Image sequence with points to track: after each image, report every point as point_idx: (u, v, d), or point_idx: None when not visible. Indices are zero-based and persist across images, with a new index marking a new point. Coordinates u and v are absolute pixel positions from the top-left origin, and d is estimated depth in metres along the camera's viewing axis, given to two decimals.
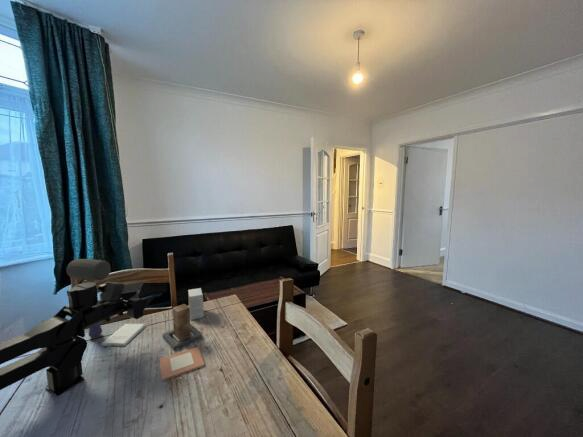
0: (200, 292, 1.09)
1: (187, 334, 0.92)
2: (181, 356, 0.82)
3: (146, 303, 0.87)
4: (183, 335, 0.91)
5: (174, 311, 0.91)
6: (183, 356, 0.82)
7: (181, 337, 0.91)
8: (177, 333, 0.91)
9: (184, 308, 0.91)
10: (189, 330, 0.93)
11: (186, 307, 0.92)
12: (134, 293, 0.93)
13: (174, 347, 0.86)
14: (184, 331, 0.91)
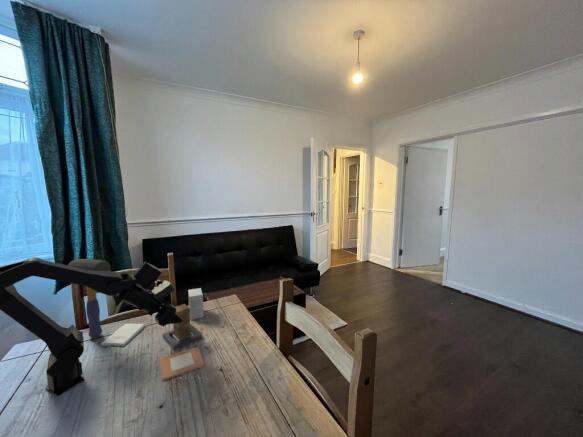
0: (200, 292, 1.09)
1: (187, 334, 0.92)
2: (181, 356, 0.82)
3: (173, 320, 0.84)
4: (183, 335, 0.91)
5: None
6: (183, 356, 0.82)
7: (181, 337, 0.91)
8: (177, 333, 0.91)
9: (184, 308, 0.91)
10: (189, 330, 0.93)
11: (186, 307, 0.92)
12: None
13: (174, 347, 0.86)
14: (184, 331, 0.91)
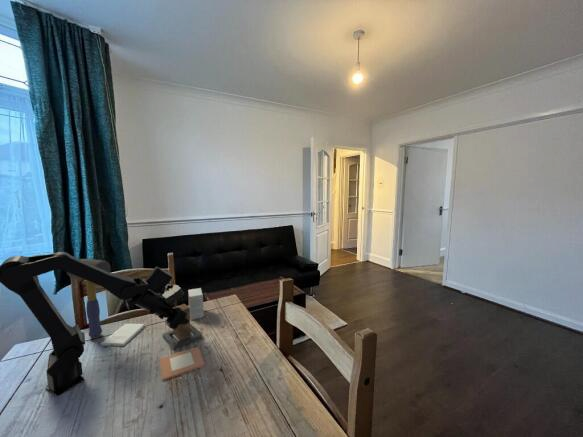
0: (200, 292, 1.09)
1: (187, 334, 0.92)
2: (181, 356, 0.82)
3: (181, 321, 0.89)
4: (183, 335, 0.91)
5: None
6: (183, 356, 0.82)
7: (181, 337, 0.91)
8: (177, 333, 0.91)
9: (184, 308, 0.91)
10: (189, 330, 0.93)
11: (186, 307, 0.92)
12: None
13: (174, 347, 0.86)
14: (184, 331, 0.91)
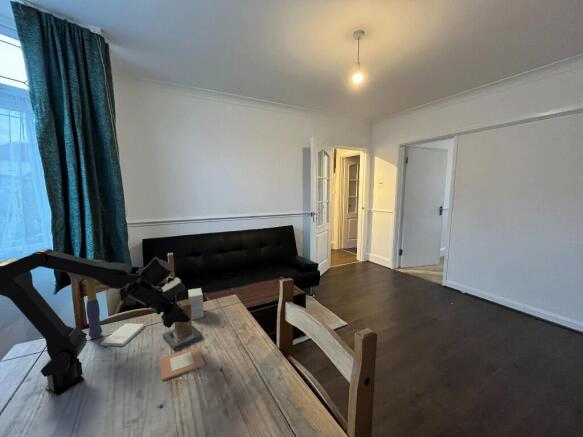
0: (200, 292, 1.09)
1: (188, 333, 0.83)
2: (181, 356, 0.82)
3: (179, 319, 0.80)
4: (183, 334, 0.82)
5: None
6: (183, 356, 0.82)
7: (181, 336, 0.82)
8: (177, 331, 0.82)
9: (185, 304, 0.82)
10: (190, 329, 0.83)
11: (187, 303, 0.83)
12: None
13: (174, 347, 0.86)
14: (184, 330, 0.82)
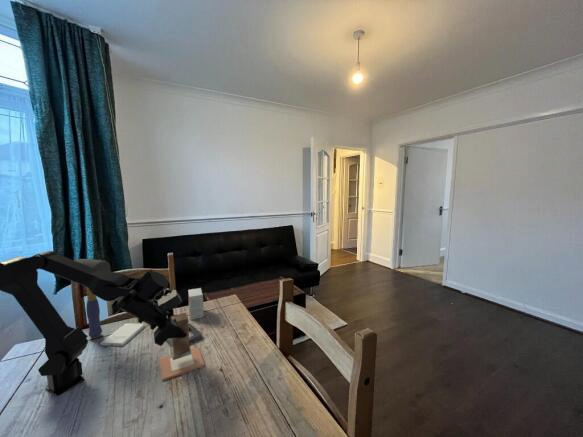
0: (200, 292, 1.09)
1: (185, 349, 0.78)
2: None
3: (175, 334, 0.75)
4: (180, 350, 0.77)
5: None
6: None
7: (177, 352, 0.77)
8: (173, 347, 0.77)
9: (182, 318, 0.77)
10: (187, 345, 0.78)
11: (185, 317, 0.78)
12: None
13: None
14: (181, 346, 0.77)
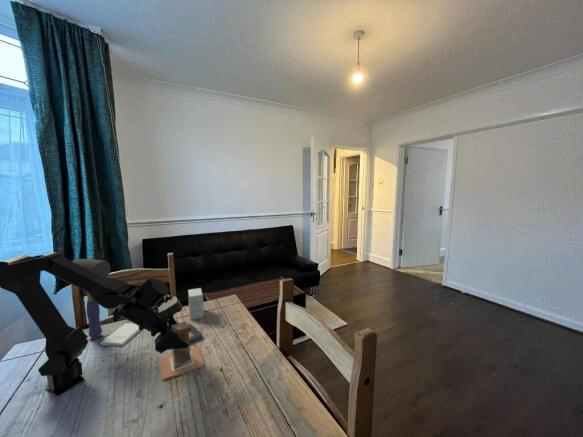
0: (200, 292, 1.09)
1: (186, 358, 0.78)
2: None
3: (177, 345, 0.73)
4: (180, 359, 0.78)
5: None
6: None
7: (178, 361, 0.77)
8: (174, 356, 0.77)
9: (183, 327, 0.78)
10: (188, 354, 0.79)
11: (185, 326, 0.78)
12: None
13: None
14: (182, 354, 0.78)
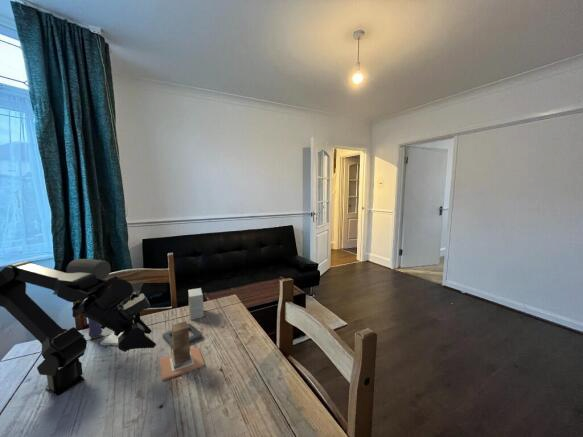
0: (200, 292, 1.09)
1: (186, 358, 0.78)
2: None
3: (143, 344, 0.69)
4: (180, 359, 0.78)
5: (172, 330, 0.78)
6: None
7: (178, 361, 0.77)
8: (174, 356, 0.77)
9: (183, 327, 0.78)
10: (188, 354, 0.79)
11: (185, 326, 0.78)
12: (148, 331, 0.79)
13: None
14: (182, 354, 0.78)
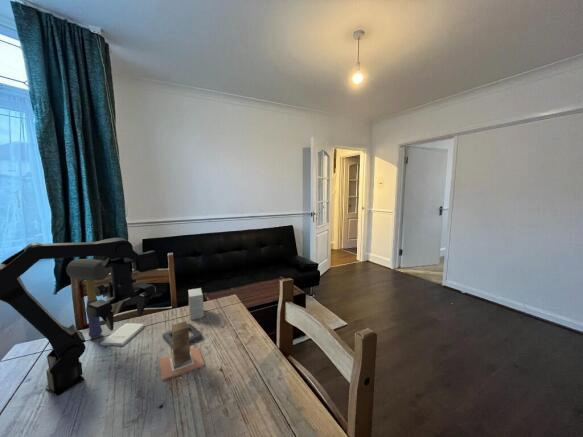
0: (200, 292, 1.09)
1: (186, 358, 0.78)
2: None
3: None
4: (180, 359, 0.78)
5: (172, 330, 0.78)
6: None
7: (178, 361, 0.77)
8: (174, 356, 0.77)
9: (183, 327, 0.78)
10: (188, 354, 0.79)
11: (185, 326, 0.78)
12: None
13: None
14: (182, 354, 0.78)
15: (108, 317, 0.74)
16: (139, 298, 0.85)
